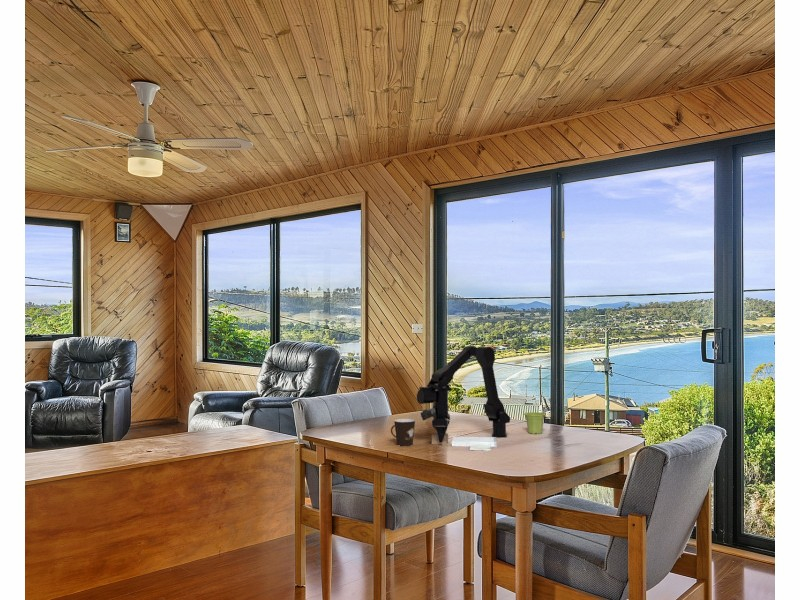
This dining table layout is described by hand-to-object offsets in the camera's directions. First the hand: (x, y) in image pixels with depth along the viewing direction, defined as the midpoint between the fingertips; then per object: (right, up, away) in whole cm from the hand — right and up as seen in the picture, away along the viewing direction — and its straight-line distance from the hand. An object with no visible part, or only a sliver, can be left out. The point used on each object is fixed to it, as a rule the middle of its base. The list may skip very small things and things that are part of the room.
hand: (441, 440), depth 255 cm
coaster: (+14, -1, -12) cm, 19 cm away
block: (-1, -2, 0) cm, 2 cm away
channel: (+13, -1, -2) cm, 13 cm away
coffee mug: (-17, -2, -3) cm, 17 cm away
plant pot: (+43, -2, +22) cm, 49 cm away
